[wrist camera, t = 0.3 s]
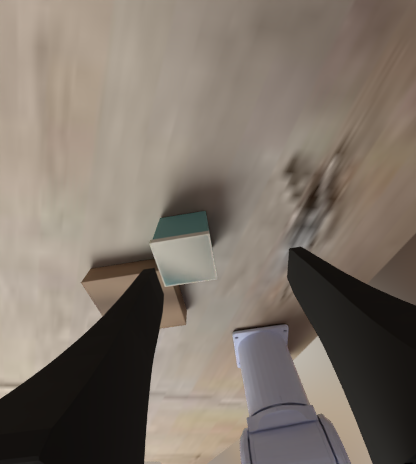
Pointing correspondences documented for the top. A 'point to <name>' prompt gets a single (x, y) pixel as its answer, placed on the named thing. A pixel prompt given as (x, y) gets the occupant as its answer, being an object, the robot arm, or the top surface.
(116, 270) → the walnut block
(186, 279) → the teal tin
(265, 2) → the top surface
